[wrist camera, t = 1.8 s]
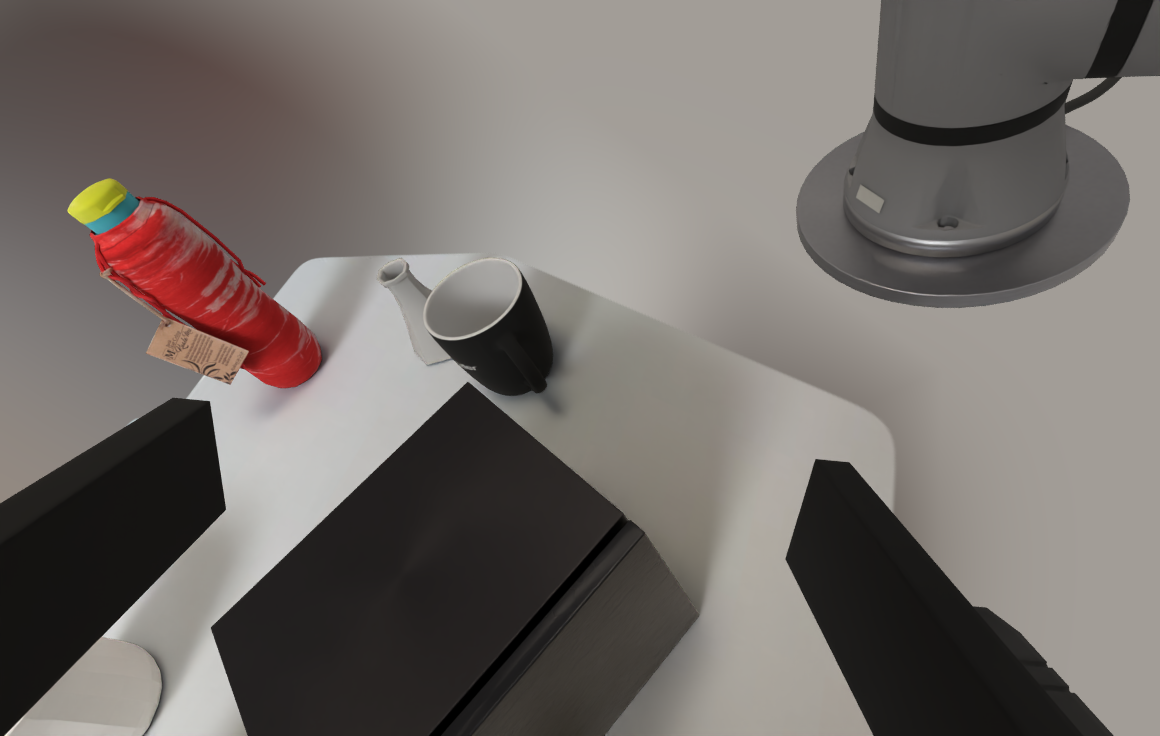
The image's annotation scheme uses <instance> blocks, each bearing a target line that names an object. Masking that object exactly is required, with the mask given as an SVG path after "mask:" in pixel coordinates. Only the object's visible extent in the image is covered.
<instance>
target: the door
mask: <svg viewBox="0 0 1160 736" xmlns="http://www.w3.org/2000/svg"><path fill="white" fill-rule="evenodd" d="M698 617H699V613H698V612H697V610H696V609H695V607H694V606H693V604H692V603H691V601H690V600H689V598H688V597H687V595H686V594H685V592H684V591H683V589H682V588H681V586H680V585H679V583H678V582H677V580H676V579H675V577H674V576H673V574H672V573H671V571H670V570H669V568H668V567H667V565H666V564H665V562H664V561H663V559H662V558H661V556H660V555H659V553H658V552H657V550H656V549H655V547H654V546H653V544H652V543H651V541H650V540H649V538H648V537H647V535H646V534H645V532H644V531H643V530H641V529H640V528H639V527H638V526H637V525H636V524H634V523H633V522H632V521H631V520H628V521H627V522H626V524H625V525H624V526H623V527H622V528H621V529H620V530H619V532H618V533H617V534H616V535H615V536H614V537H613V538H612V540H611V541H610V542H609V543H608V544H607V545H606V546H605V548H604V549H603V550H602V551H601V552H600V553H599V554H598V556H597V557H596V558H595V559H594V560H593V561H592V562H591V564H590V565H589V566H588V567H587V568H586V569H585V570H584V572H583V573H582V574H581V575H580V576H579V577H578V578H577V580H576V581H575V582H574V583H573V584H572V585H571V586H570V588H569V589H568V590H567V591H566V592H565V593H564V594H563V596H562V597H561V598H560V599H559V600H558V601H557V602H556V604H555V605H554V606H553V607H552V608H551V609H550V610H549V612H548V613H547V614H546V615H545V616H544V617H543V618H542V620H541V621H540V622H539V623H538V624H537V625H536V626H535V628H534V629H533V630H532V631H531V632H530V633H529V634H528V636H527V637H526V638H525V639H524V640H523V641H522V642H521V644H520V645H519V646H518V647H517V648H516V649H515V650H514V652H513V653H512V654H511V655H510V656H509V657H508V659H507V660H506V661H505V662H504V663H503V664H502V665H501V667H500V668H499V669H498V670H497V671H496V672H495V673H494V675H493V676H492V677H491V678H490V679H489V680H488V681H487V683H486V684H485V685H484V686H483V687H482V688H481V689H480V691H479V692H478V693H477V694H476V695H475V696H474V697H473V699H472V700H471V701H470V702H469V703H468V704H467V705H466V707H465V708H464V709H463V710H462V711H461V712H460V713H459V715H458V716H457V717H456V718H455V719H454V720H453V721H452V723H451V724H450V725H449V726H448V727H447V728H446V729H445V731H444V732H443V733H442V734H441V735H440V736H604V735H605V734H606V733H607V731H608V730H609V729H610V728H611V726H612V725H613V724H614V723H615V721H616V720H617V719H618V717H619V716H620V715H621V714H622V712H623V711H624V710H625V709H626V707H627V706H628V705H629V704H630V702H631V701H632V700H633V699H634V697H635V696H636V695H637V694H638V692H639V691H640V690H641V688H642V687H643V686H644V685H645V683H646V682H647V681H648V680H649V678H650V677H651V676H652V675H653V673H654V672H655V671H656V670H657V668H658V667H659V666H660V664H661V663H662V662H663V661H664V659H665V658H666V657H667V656H668V654H669V653H670V652H671V651H672V649H673V648H674V647H675V646H676V644H677V643H678V642H679V640H680V639H681V638H682V637H683V635H684V634H685V633H686V632H687V630H688V629H689V628H690V627H691V625H692V624H693V623H694V622H695V620H696V619H697V618H698Z"/></svg>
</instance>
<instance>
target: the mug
mask: <svg viewBox="0 0 1160 736" xmlns="http://www.w3.org/2000/svg"><path fill="white" fill-rule="evenodd" d="M423 321H424V325H425V327H426V329H427V331H428V332H429V334H430V335H431V336H432V337H433V339H434V340H435V341H436V342H437V343H438V344H439V345H440V347H441V348H442V349H443V350H444V351H445V352H446V353H447V354H448V355H449V356H450V357H451V358H452V359H453V360H454V361H455V362H456V363H457V364H458V365H460V366H461V367H462V368H463V369H464V370H465V371H466V372H467V373H468V374H470V375H471V376H472V377H473V378H474V379H476V380H477V381H478V382H479V383H481V384H482V385H484V386H485V387H487V388H488V389H490V390H492V391H494V392H496V393H499V394H503V395H509V396H514V395H520V394H524V393H526V392H529V391H531V390H533V391H534V392H535V393H541V392H543V391H544V390H545V389H546V387H547V383H546V381H545V378H546V376H547V375H548V373H549V371H550V369H551V365H552V360H553V349H552V343H551V339H550V336H549V332H548V329H547V326H546V324H545V321H544V318H543V316H542V313H541V311H540V309H539V306H538V304H537V302H536V300H535V298H534V295H533V293H532V291H531V289H530V287H529V285H528V283H527V282H526V280H525V278H524V276H523V275H522V273H521V271H520V270H519V269H518V268H517V266H516V265H515V264H513V263H512V262H510V261H508V260H505V259H501V258H484V259H479V260H475V261H472V262H470V263H467V264H465V265H463V266H461V267H459V268H457V269H456V270H454V271H453V272H451V273H450V274H448V275H447V276H446V277H445V278H444V279H443V280H442V281H440V282H439V284H438V285H437V286H436V287H435V288H434V289H433V291H432V292H431V294H430V295H429V297H428V299H427V301H426V304H425V307H424V312H423Z"/></svg>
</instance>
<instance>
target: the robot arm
mask: <svg viewBox="0 0 1160 736" xmlns="http://www.w3.org/2000/svg"><path fill="white" fill-rule="evenodd" d="M1130 76H1160V0H881V11H880V26H879V39H878V53H877V66H876V80H875V95H874V107H873V114H872V117H871V119H870V121H869V123H868V125H867V128H866V130H865V132H864V134H863V136H862V139H861V141H860V143H859V146H858V149H857V152H856V154H855V156H854V157H853V159H852V161H851V163H850V165H849V168H848V170H847V173H846V176H845V180H844V194H843V204H844V210H845V213H846V215H847V218H848V219H849V221H850V223H851V224H852V225H853V226H854V227H855V228H856V229H857V230H858V231H859V232H860V233H861V234H862V235H864V236H865V237H866V238H868V239H870V240H871V241H873V242H875V243H877V244H879V245H881V246H884V247H886V248H889V249H892V250H895V251H898V252H902V253H907V254H912V255H918V256H927V257H961V256H970V255H977V254H982V253H987V252H991V251H994V250H998V249H1001V248H1004V247H1007V246H1010V245H1012V244H1015V243H1017V242H1019V241H1021V240H1023V239H1025V238H1027V237H1029V236H1030V235H1032V234H1033V233H1035V232H1037V231H1038V230H1039V229H1040V228H1042V227H1043V226H1044V225H1045V224H1046V223H1047V222H1048V221H1049V220H1050V219H1051V218H1052V217H1053V215H1054V214H1055V213H1056V211H1057V209H1058V207H1059V205H1060V203H1061V200H1062V198H1063V195H1064V193H1065V190H1066V188H1067V185H1068V182H1069V176H1070V174H1069V169H1070V166H1069V160H1068V154H1067V151H1066V126H1065V114H1067V113H1069V112H1071V111H1073V110H1075V109H1077V108H1079V107H1082V106H1084V105H1086V104H1088V103H1089V102H1091V101H1093V100H1095V99H1096V98H1098V97H1100V96H1101V95H1102V94H1104V93H1105V92H1106V91H1108V90H1109V89H1110V88H1111V87H1112V86H1114V85H1115V84H1116V83H1117V82H1118V81H1119V79H1121V78H1122V77H1130ZM1083 78H1107V79H1105V80H1104V81H1103V82H1102V83H1101V84H1099V85H1098V86H1097V87H1095V88H1094V89H1092V90H1091V91H1089V92H1087V93H1086V94H1084V95H1082V96H1080V97H1078V98H1076V99H1073V100H1071V101H1069V102H1067V103H1065V102H1066V99H1067V95H1068V92H1069V90H1070V87H1071V84H1072V81H1073V79H1083ZM225 510H226V506H225V499H224V493H223V486H222V479H221V473H220V466H219V459H218V453H217V446H216V439H215V432H214V426H213V419H212V412H211V406H210V401H201V400H191V399H181V398H172V399H170V400H168V401H167V402H165V403H164V404H162V405H160V406H159V407H157V408H155V409H154V410H152V411H151V412H149V413H147V414H146V415H144V416H142V417H141V418H139V419H137V420H136V421H134V422H133V423H131V424H129V425H128V426H126V427H124V428H123V429H121V430H120V431H118V432H116V433H115V434H113V435H111V436H110V437H108V438H106V439H105V440H103V441H102V442H100V443H98V444H97V445H95V446H93V447H92V448H90V449H88V450H87V451H85V452H84V453H82V454H80V455H79V456H77V457H75V458H74V459H72V460H71V461H69V462H67V463H66V464H64V465H62V466H61V467H59V468H57V469H56V470H54V471H53V472H51V473H49V474H48V475H46V476H44V477H43V478H41V479H39V480H38V481H36V482H35V483H33V484H31V485H30V486H28V487H26V488H25V489H23V490H21V491H20V492H18V493H17V494H15V495H13V496H12V497H10V498H8V499H7V500H5V501H4V502H2V503H0V736H5V735H6V734H7V733H8V732H9V730H10V729H11V728H12V727H13V726H14V725H15V724H16V723H17V722H18V721H19V720H20V719H21V718H22V717H23V716H24V715H25V714H26V713H27V712H28V711H29V710H30V709H31V708H32V707H33V706H34V705H35V704H36V703H37V702H38V701H39V700H40V699H41V698H42V697H43V696H44V695H45V694H46V693H47V692H48V691H49V690H50V689H51V688H52V687H53V686H54V685H55V684H56V683H57V682H58V681H59V679H60V678H61V677H62V676H63V675H64V674H65V673H66V672H67V671H68V670H69V669H70V668H71V667H72V666H73V665H74V664H75V663H76V662H77V661H78V660H79V659H80V658H81V657H82V656H83V655H84V654H85V653H86V652H87V651H88V650H89V649H90V648H91V647H92V646H93V645H94V644H95V643H96V642H97V641H98V640H99V639H100V638H101V637H102V636H103V635H104V634H105V633H106V632H107V631H108V630H109V628H110V627H111V626H112V625H113V624H114V623H115V622H116V621H117V620H118V619H119V618H120V617H121V616H122V615H123V614H124V613H125V612H126V611H127V610H128V609H129V608H130V607H131V606H132V605H133V604H134V603H135V602H136V601H137V600H138V599H139V598H140V597H141V596H142V595H143V594H144V593H145V592H146V591H147V590H148V589H149V588H150V587H151V586H152V585H153V584H154V583H155V582H156V581H157V580H158V579H159V577H160V576H161V575H162V574H163V573H164V572H165V571H166V570H167V569H168V568H169V567H170V566H171V565H172V564H173V563H174V562H175V561H176V560H177V559H178V558H179V557H180V556H181V555H182V554H183V553H184V552H185V551H186V550H187V549H188V548H189V547H190V546H191V545H192V544H193V543H194V542H195V541H196V540H197V539H198V538H199V537H200V536H201V535H202V534H203V533H204V532H205V531H206V530H207V529H208V528H209V526H210V525H211V524H212V523H213V522H214V521H215V520H216V519H217V518H218V517H219V516H220V515H221V514H222V513H223V512H224V511H225ZM786 561H787V563H788V565H789V567H790V569H791V571H792V573H793V575H794V577H795V579H796V581H797V583H798V585H799V587H800V589H801V591H802V593H803V595H804V597H805V599H806V601H807V603H808V605H809V607H810V609H811V611H812V613H813V615H814V617H815V619H816V621H817V623H818V625H819V627H820V629H821V631H822V633H823V635H824V637H825V639H826V641H827V643H828V645H829V647H830V649H831V651H832V653H833V655H834V657H835V659H836V661H837V663H838V665H839V667H840V669H841V671H842V673H843V675H844V677H845V679H846V681H847V683H848V685H849V687H850V689H851V691H852V693H853V695H854V697H855V699H856V701H857V703H858V705H859V707H860V709H861V711H862V713H863V715H864V717H865V719H866V721H867V723H868V725H869V727H870V729H871V731H872V733H873V735H874V736H1113V735H1112V733H1111V732H1110V731H1109V730H1108V729H1107V728H1106V727H1105V726H1104V725H1103V723H1102V722H1101V721H1100V720H1099V719H1098V718H1097V717H1096V716H1095V715H1094V714H1093V712H1092V711H1091V710H1090V709H1089V708H1088V707H1087V706H1086V705H1085V704H1084V703H1083V702H1082V700H1081V699H1080V698H1079V697H1078V696H1077V695H1076V694H1075V693H1071V692H1070V691H1069V686H1068V685H1067V684H1066V683H1065V682H1064V681H1063V679H1061V677H1060V676H1059V675H1058V674H1057V673H1056V672H1055V671H1054V670H1053V668H1048V667H1047V664H1046V663H1047V662H1046V661H1045V660H1044V659H1043V658H1042V656H1041V655H1040V654H1039V653H1038V652H1037V651H1036V650H1035V649H1034V647H1033V646H1032V645H1031V644H1030V643H1029V642H1028V641H1027V640H1026V639H1025V638H1024V636H1022V634H1021V633H1020V632H1018V631H1017V630H1016V629H1014V628H1013V627H1012V626H1010V625H1009V624H1008V623H1006V622H1005V621H1004V620H1002V619H1001V618H1000V617H998V616H997V615H996V614H994V613H993V612H992V611H990V610H989V609H988V608H985V607H973V606H972V605H971V604H970V603H969V602H968V600H967V599H966V598H965V597H964V596H963V595H962V593H961V592H960V591H959V590H958V589H957V588H956V586H954V584H953V583H952V582H951V581H950V579H949V578H948V577H947V576H946V575H945V574H944V572H943V571H942V570H941V569H940V568H939V567H938V565H937V564H936V563H935V562H934V561H933V560H932V558H931V557H930V556H929V555H928V554H927V553H926V551H925V550H924V549H923V548H922V547H921V545H920V544H919V543H918V542H917V541H916V540H915V539H914V537H913V536H912V535H911V534H910V533H909V532H908V530H907V529H906V528H905V527H904V526H903V524H901V522H900V521H899V520H898V519H897V517H896V516H895V515H894V514H893V513H892V512H891V510H890V509H889V508H888V507H887V506H886V505H885V503H884V502H883V501H882V500H881V499H880V498H879V496H878V495H877V494H876V493H875V492H874V491H873V489H872V488H871V487H870V486H869V485H868V484H867V482H866V481H865V480H864V479H863V478H862V477H861V475H860V474H859V473H858V472H857V471H856V470H855V468H854V467H853V466H852V465H851V464H850V463H849V462H839V461H829V460H818V459H816V460H815V463H814V466H813V469H812V473H811V476H810V479H809V483H808V486H807V489H806V493H805V496H804V499H803V503H802V506H801V509H800V513H799V516H798V519H797V522H796V526H795V529H794V532H793V536H792V539H791V542H790V546H789V549H788V552H787V556H786Z"/></svg>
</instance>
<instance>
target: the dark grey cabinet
mask: <svg viewBox="0 0 1160 736" xmlns="http://www.w3.org/2000/svg"><path fill="white" fill-rule="evenodd" d="M627 521H628V520H627V518H626V517H625V515H624V514H623V513H622V512H621V511H620V510H619V509H617V508H616V507H615V506H614V505H613V504H612V503H610V502H609V501H608V500H607V499H606V498H604V497H603V496H602V495H601V494H600V493H599V492H597V491H596V490H595V489H594V488H593V487H591V486H590V485H589V484H588V483H587V482H586V481H584V480H583V479H582V478H581V477H580V476H579V475H577V474H576V473H575V472H574V471H573V470H571V469H570V468H569V467H568V466H567V465H566V464H564V463H563V462H562V461H561V460H560V459H558V458H557V457H556V456H555V455H554V454H553V453H551V452H550V451H549V450H548V449H547V448H546V447H544V446H543V445H542V444H541V443H540V442H538V441H537V440H536V439H535V438H534V437H533V436H531V435H530V434H529V433H528V432H527V431H525V430H524V429H523V428H522V427H521V426H520V425H518V424H517V423H516V422H515V421H514V420H513V419H511V418H510V417H509V416H508V415H507V414H505V413H504V412H503V411H502V410H501V409H500V408H498V407H497V406H496V405H495V404H494V403H492V402H491V401H490V400H489V399H488V398H487V397H485V396H484V395H483V394H482V393H481V392H480V391H478V390H477V389H476V388H475V387H474V386H472V385H471V384H470V383H469V382H467V383H466V384H465V385H464V386H463V387H462V388H461V389H460V390H459V391H457V392H456V393H455V394H454V395H453V396H452V397H451V398H450V399H449V400H448V401H447V402H446V403H445V404H444V405H443V406H442V407H441V408H440V409H439V410H438V411H437V412H436V413H434V414H433V415H432V416H431V417H430V418H429V419H428V420H427V421H426V422H425V423H424V424H423V425H422V426H421V427H420V428H419V429H418V430H417V431H416V432H415V433H414V434H413V435H412V436H410V437H409V438H408V439H407V440H406V441H405V442H404V443H403V444H402V445H401V446H400V447H399V448H398V449H397V450H396V451H395V452H394V453H393V454H392V455H391V456H390V457H389V458H387V459H386V460H385V461H384V462H383V463H382V464H381V465H380V466H379V467H378V468H377V469H376V470H375V471H374V472H373V473H372V474H371V475H370V476H369V477H368V478H367V479H366V480H364V481H363V482H362V483H361V484H360V485H359V486H358V487H357V488H356V489H355V490H354V491H353V492H352V493H351V494H350V495H349V496H348V497H347V498H346V499H345V500H344V501H343V502H341V503H340V504H339V505H338V506H337V507H336V508H335V509H334V510H333V511H332V512H331V513H330V514H329V515H328V516H327V517H326V518H325V519H324V520H323V521H322V522H321V523H320V524H319V525H317V526H316V527H315V528H314V529H313V530H312V531H311V532H310V533H309V534H308V535H307V536H306V537H305V538H304V539H303V540H302V541H301V542H300V543H299V544H298V545H297V546H296V547H294V548H293V549H292V550H291V551H290V552H289V553H288V554H287V555H286V556H285V557H284V558H283V559H282V560H281V561H280V562H279V563H278V564H277V565H276V566H275V567H274V568H273V569H271V570H270V571H269V572H268V573H267V574H266V575H265V576H264V577H263V578H262V579H261V580H260V581H259V582H258V583H257V584H256V585H255V586H254V587H253V588H252V589H251V590H250V591H248V592H247V593H246V594H245V595H244V596H243V597H242V598H241V599H240V600H239V601H238V602H237V603H236V604H235V605H234V606H233V607H232V608H231V609H230V610H229V611H228V612H227V613H225V614H224V615H223V616H222V617H221V618H220V619H219V620H218V621H217V622H216V623H215V624H214V625H213V626H212V627H211V630H212V633H213V636H214V639H215V642H216V645H217V648H218V651H219V653H220V656H221V659H222V662H223V665H224V668H225V671H226V674H227V677H228V680H229V683H230V686H231V688H232V691H233V694H234V697H235V700H236V703H237V706H238V709H239V712H240V715H241V718H242V720H243V723H244V726H245V729H246V732H247V735H248V736H440V735H441V734H442V733H443V732H444V731H445V729H446V728H447V727H448V726H449V725H450V724H451V723H452V721H453V720H454V719H455V718H456V717H457V716H458V715H459V713H460V712H461V711H462V710H463V709H464V708H465V707H466V705H467V704H468V703H469V702H470V701H471V700H472V699H473V697H474V696H475V695H476V694H477V693H478V692H479V691H480V689H481V688H482V687H483V686H484V685H485V684H486V683H487V681H488V680H489V679H490V678H491V677H492V676H493V675H494V673H495V672H496V671H497V670H498V669H499V668H500V667H501V665H502V664H503V663H504V662H505V661H506V660H507V659H508V657H509V656H510V655H511V654H512V653H513V652H514V650H515V649H516V648H517V647H518V646H519V645H520V644H521V642H522V641H523V640H524V639H525V638H526V637H527V636H528V634H529V633H530V632H531V631H532V630H533V629H534V628H535V626H536V625H537V624H538V623H539V622H540V621H541V620H542V618H543V617H544V616H545V615H546V614H547V613H548V612H549V610H550V609H551V608H552V607H553V606H554V605H555V604H556V602H557V601H558V600H559V599H560V598H561V597H562V596H563V594H564V593H565V592H566V591H567V590H568V589H569V588H570V586H571V585H572V584H573V583H574V582H575V581H576V580H577V578H578V577H579V576H580V575H581V574H582V573H583V572H584V570H585V569H586V568H587V567H588V566H589V565H590V564H591V562H592V561H593V560H594V559H595V558H596V557H597V556H598V554H599V553H600V552H601V551H602V550H603V549H604V548H605V546H606V545H607V544H608V543H609V542H610V541H611V540H612V538H613V537H614V536H615V535H616V534H617V533H618V532H619V530H620V529H621V528H622V527H623V526H624V525H625V524H626V522H627Z"/></svg>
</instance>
